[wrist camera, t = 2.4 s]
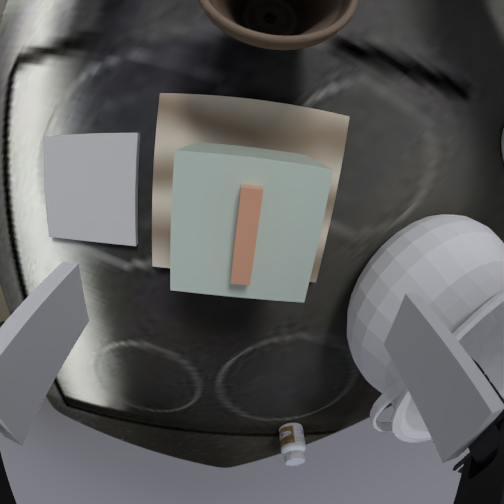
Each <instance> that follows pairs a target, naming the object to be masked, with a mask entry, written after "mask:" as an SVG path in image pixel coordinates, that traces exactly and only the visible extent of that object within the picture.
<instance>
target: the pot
mask: <svg viewBox="0 0 504 504" xmlns="http://www.w3.org/2000/svg"><path fill="white" fill-rule="evenodd" d="M405 294H419V295H420V296H421V297H422V298H423V299H424V301H425V302H426V303H427V304H428V305H429V306H430V308H431V309H432V310H433V311H434V312H435V313H436V315H437V316H438V317H439V318H440V319H441V321H442V322H443V323H444V324H445V325H446V327H447V328H448V329H449V330H450V332H451V333H452V334H453V335H454V337H455V338H456V339H457V340H458V342H459V343H460V344H461V345H462V347H463V348H464V349H465V351H466V352H467V353H468V355H469V356H470V357H471V358H472V359H474V360H475V361H476V362H477V363H478V364H479V365H480V367H481V368H482V369H483V371H484V372H485V373H484V374H486V375H487V376H488V378H489V379H490V382H492V383H493V385H494V386H495V388H496V389H497V390H498V392H499V393H500V395H501V396H502V397H503V396H504V243H503V241H502V240H501V239H500V238H499V237H498V236H497V235H496V234H495V233H494V232H493V231H492V230H491V229H490V228H489V227H487V226H485V225H483V224H481V223H479V222H478V221H475V220H473V219H471V218H469V217H467V216H460V215H449V214H442V215H435V216H429V217H426V218H423V219H421V220H418V221H416V222H413V223H411V224H410V225H408V226H406V227H405V228H403V229H402V230H400V231H399V232H397V233H396V234H395V235H393V236H392V237H391V238H390V239H389V240H388V241H387V242H386V243H384V244H383V245H382V246H381V247H380V248H379V250H378V251H377V252H376V253H375V254H374V256H373V257H372V258H371V259H370V260H369V262H368V263H367V265H366V266H365V268H364V270H363V271H362V273H361V274H360V276H359V278H358V280H357V282H356V285H355V287H354V289H353V292H352V294H351V298H350V302H349V306H348V310H347V339H348V344H349V348H350V351H351V354H352V357H353V360H354V362H355V364H356V365H357V367H358V369H359V371H360V372H361V373H362V375H363V376H364V377H365V379H366V380H367V382H369V383H370V384H371V385H372V386H373V387H374V388H376V389H377V390H378V391H380V392H381V393H382V395H381V396H380V397H379V398H378V399H377V400H376V401H375V403H374V404H373V406H372V409H371V411H370V419H371V422H372V424H373V427H374V428H375V430H377V431H381V432H384V433H389V432H393V433H394V434H395V436H396V437H397V438H398V439H400V440H402V441H405V442H412V443H413V442H423V441H428V440H432V438H431V435H430V433H429V431H428V429H427V427H426V425H425V423H424V421H423V419H422V417H421V415H420V413H419V410H418V408H417V406H416V404H415V402H414V400H413V399H412V397H411V395H410V393H409V391H408V389H407V387H406V385H405V383H404V381H403V379H402V377H401V375H400V373H399V372H398V370H397V368H396V366H395V364H394V362H393V360H392V359H391V357H390V355H389V353H388V351H387V350H386V348H385V346H384V342H385V340H386V338H387V336H388V334H389V331H390V329H391V327H392V325H393V322H394V320H395V318H396V315H397V313H398V311H399V308H400V306H401V303H402V301H403V298H404V296H405ZM389 403H392V405H393V407H394V412H393V415H392V418H391V422H377V421H376V418H377V416H378V415H379V414H380V413H381V412H382V411H383V410H384V408H385V407H386V406H387V405H388V404H389Z"/></svg>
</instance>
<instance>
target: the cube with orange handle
mask: <svg viewBox="0 0 504 504" xmlns="http://www.w3.org/2000/svg"><path fill="white" fill-rule="evenodd" d="M332 173H333V169H331V168H329V167H328V166H326V165H324V164H322V163H320V162H318V161H316V160H314V159H312V158H310V157H308V156H306V155H303V154H297V153H290V152H284V151H277V150H269V149H262V148H254V147H245V146H236V145H226V144H215V143H203V142H195V143H192V144H190V145H187V146H185V147H182V148H180V149H177V150H175V154H174V168H173V184H172V205H171V237H170V290H174V291H182V292H191V293H200V294H210V295H220V296H230V297H241V298H252V299H264V300H276V301H290V302H304V301H305V297H306V293H307V289H308V285H309V281H310V277H311V273H312V268H313V264H314V260H315V256H316V251H317V247H318V242H319V238H320V233H321V229H322V224H323V219H324V214H325V210H326V205H327V200H328V195H329V189H330V184H331V179H332Z"/></svg>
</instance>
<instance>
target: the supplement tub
mask: <svg viewBox="0 0 504 504" xmlns="http://www.w3.org/2000/svg"><path fill="white" fill-rule="evenodd" d="M501 149H502V157H503V161H504V128H503V131H502V137H501Z"/></svg>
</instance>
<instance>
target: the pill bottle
mask: <svg viewBox="0 0 504 504" xmlns="http://www.w3.org/2000/svg"><path fill="white" fill-rule="evenodd" d="M279 437H280V448H281V453H282V454H283V455H285V457H284V458H285V464H286V465H288V466H296V465H300V464H302V463H304V462H305V456H304V451H305V450H306V445H305V440H304V433H303V427H302V425H301V424H299V423H287V424H284V425H282V426H281V427H280V428H279Z"/></svg>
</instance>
